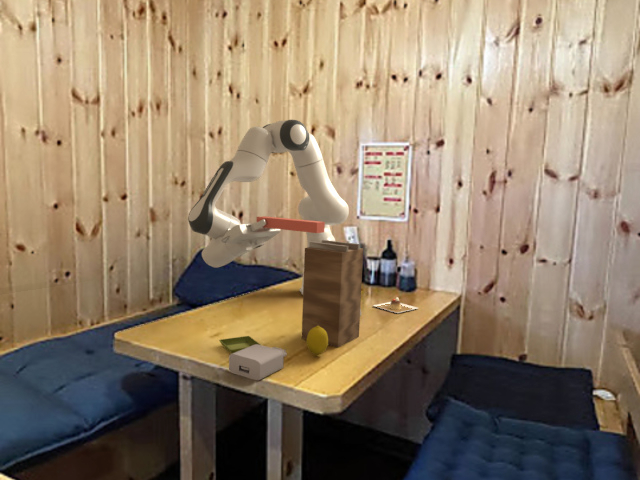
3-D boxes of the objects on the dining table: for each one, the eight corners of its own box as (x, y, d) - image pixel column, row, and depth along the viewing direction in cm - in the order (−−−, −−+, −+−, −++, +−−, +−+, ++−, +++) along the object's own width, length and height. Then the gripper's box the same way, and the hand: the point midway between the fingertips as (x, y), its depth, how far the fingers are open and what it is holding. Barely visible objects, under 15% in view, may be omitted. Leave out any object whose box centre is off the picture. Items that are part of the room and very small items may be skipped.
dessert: (371, 308, 180) (372, 295, 180) (393, 303, 188) (394, 291, 188) (397, 316, 171) (398, 302, 171) (418, 311, 179) (419, 298, 179)
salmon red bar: (264, 225, 155) (264, 216, 155) (324, 232, 144) (324, 221, 143) (256, 226, 152) (256, 216, 151) (316, 233, 140) (317, 222, 140)
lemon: (311, 360, 124) (312, 329, 123) (302, 353, 129) (303, 323, 128) (331, 358, 126) (332, 327, 125) (322, 351, 131) (323, 321, 130)
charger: (297, 362, 123) (259, 382, 110) (268, 354, 128) (228, 372, 115) (298, 344, 122) (260, 361, 110) (268, 336, 127) (228, 352, 114)
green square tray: (261, 352, 129) (262, 345, 129) (230, 357, 125) (230, 349, 125) (248, 342, 137) (249, 335, 137) (218, 347, 132) (218, 339, 132)
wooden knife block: (324, 329, 151) (327, 239, 148) (358, 336, 145) (363, 243, 141) (301, 338, 141) (305, 242, 138) (337, 347, 135) (342, 247, 131)
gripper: (214, 232, 150) (245, 212, 143) (257, 228, 167) (287, 210, 160) (221, 251, 149) (253, 232, 142) (264, 245, 166) (294, 228, 159)
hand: (271, 221), depth 151 cm, fingers closed on salmon red bar, 4 cm apart
